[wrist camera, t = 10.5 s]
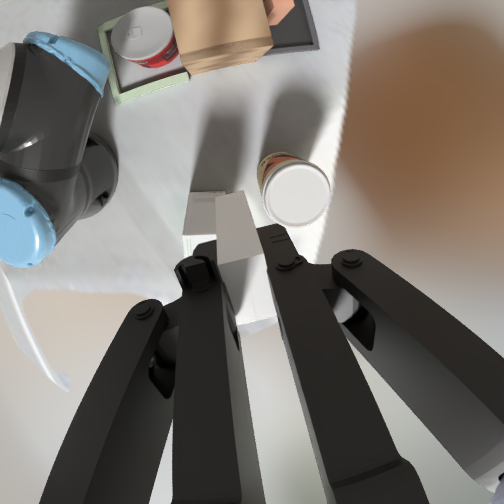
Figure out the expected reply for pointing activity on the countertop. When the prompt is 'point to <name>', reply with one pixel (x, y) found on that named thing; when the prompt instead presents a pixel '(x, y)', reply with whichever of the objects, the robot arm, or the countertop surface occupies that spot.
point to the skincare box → (199, 220)
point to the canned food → (145, 37)
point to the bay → (112, 77)
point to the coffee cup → (292, 189)
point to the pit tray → (294, 31)
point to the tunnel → (219, 32)
